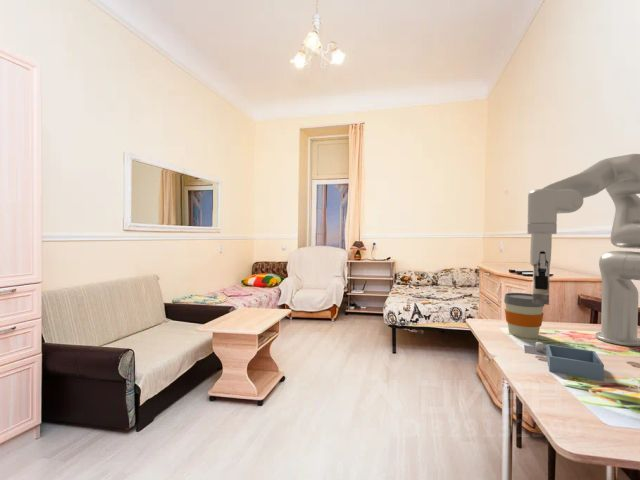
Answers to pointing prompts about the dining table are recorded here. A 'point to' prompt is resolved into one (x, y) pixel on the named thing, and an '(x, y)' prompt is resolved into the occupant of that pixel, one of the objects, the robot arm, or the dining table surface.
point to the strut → (540, 294)
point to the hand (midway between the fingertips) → (540, 287)
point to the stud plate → (532, 350)
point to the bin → (574, 362)
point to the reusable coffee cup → (523, 315)
